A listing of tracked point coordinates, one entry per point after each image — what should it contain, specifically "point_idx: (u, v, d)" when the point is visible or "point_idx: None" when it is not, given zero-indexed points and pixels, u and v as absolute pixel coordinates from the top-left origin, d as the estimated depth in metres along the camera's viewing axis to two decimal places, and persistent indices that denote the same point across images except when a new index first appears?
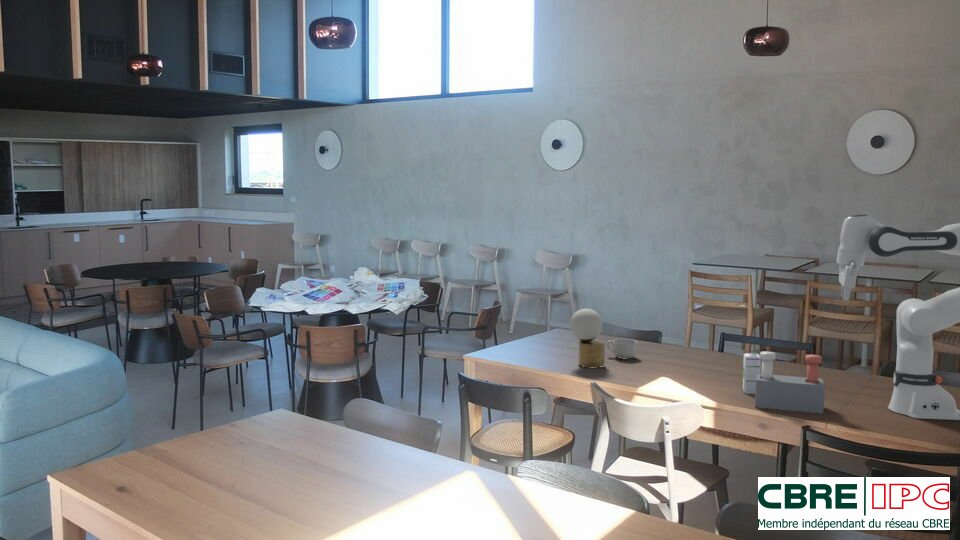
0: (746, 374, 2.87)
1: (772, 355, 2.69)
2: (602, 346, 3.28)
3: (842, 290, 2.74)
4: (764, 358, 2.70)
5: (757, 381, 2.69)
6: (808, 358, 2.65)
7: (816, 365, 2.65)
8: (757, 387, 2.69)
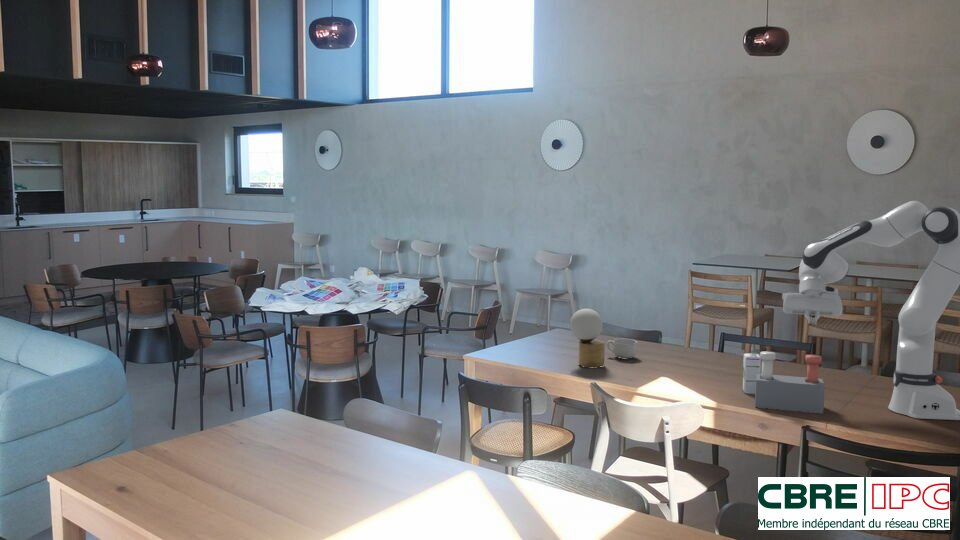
0: (746, 374, 2.87)
1: (772, 355, 2.69)
2: (602, 346, 3.28)
3: None
4: (764, 358, 2.70)
5: (757, 381, 2.69)
6: (808, 358, 2.65)
7: (816, 365, 2.65)
8: (757, 387, 2.69)
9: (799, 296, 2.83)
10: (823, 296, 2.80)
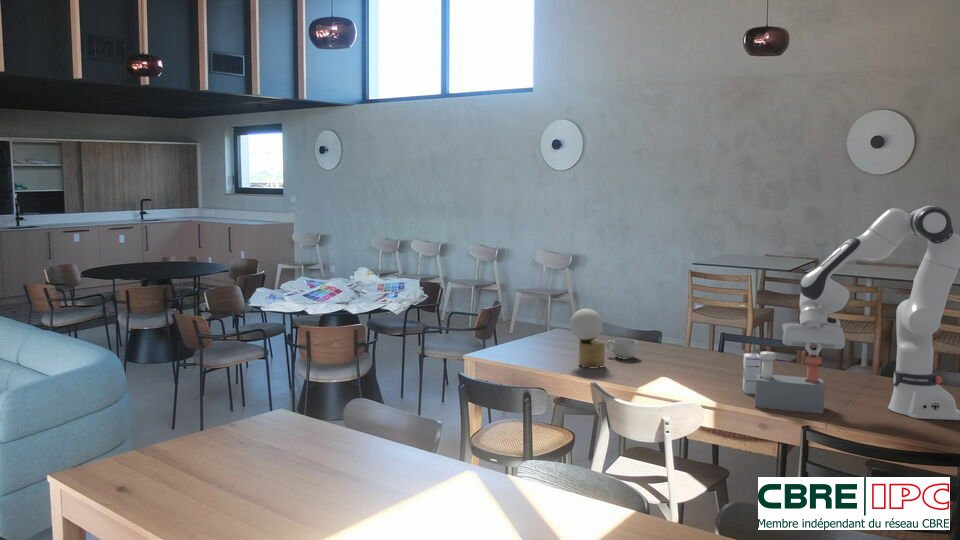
0: (746, 374, 2.87)
1: (772, 355, 2.69)
2: (602, 346, 3.28)
3: None
4: (764, 358, 2.70)
5: (757, 381, 2.69)
6: (808, 359, 2.65)
7: (816, 366, 2.65)
8: (757, 387, 2.69)
9: (800, 327, 2.72)
10: (825, 328, 2.69)
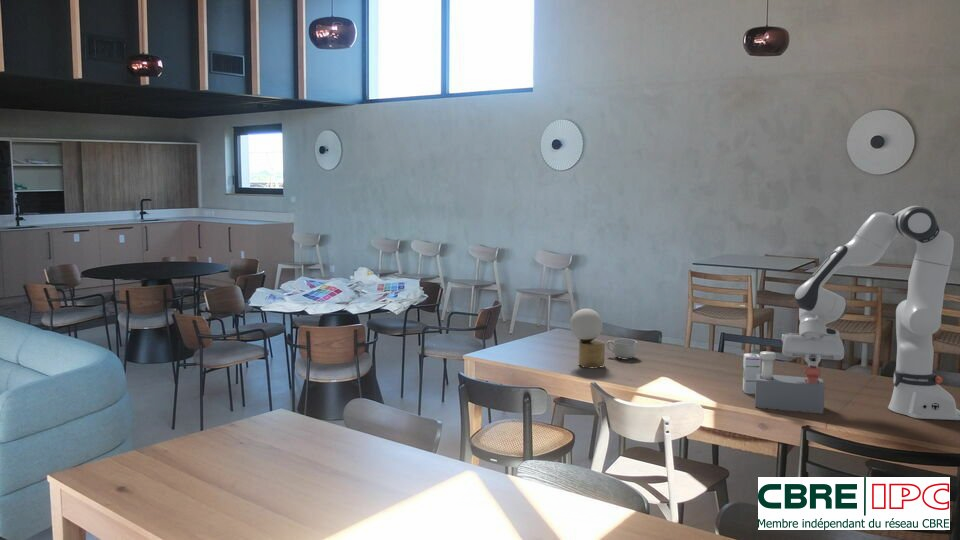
0: (746, 374, 2.87)
1: (772, 355, 2.69)
2: (602, 346, 3.28)
3: None
4: (764, 358, 2.70)
5: (757, 381, 2.69)
6: (807, 370, 2.66)
7: (815, 377, 2.66)
8: (757, 387, 2.69)
9: (799, 338, 2.73)
10: (824, 339, 2.70)
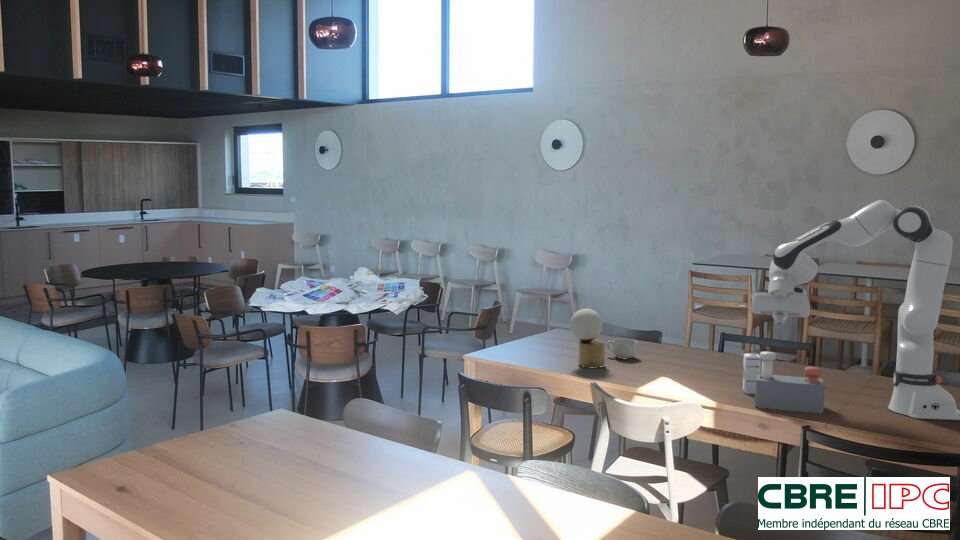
0: (746, 374, 2.87)
1: (772, 355, 2.69)
2: (602, 346, 3.28)
3: None
4: (764, 358, 2.70)
5: (757, 381, 2.69)
6: (807, 370, 2.66)
7: (815, 377, 2.66)
8: (757, 387, 2.69)
9: (768, 296, 2.83)
10: (792, 297, 2.80)
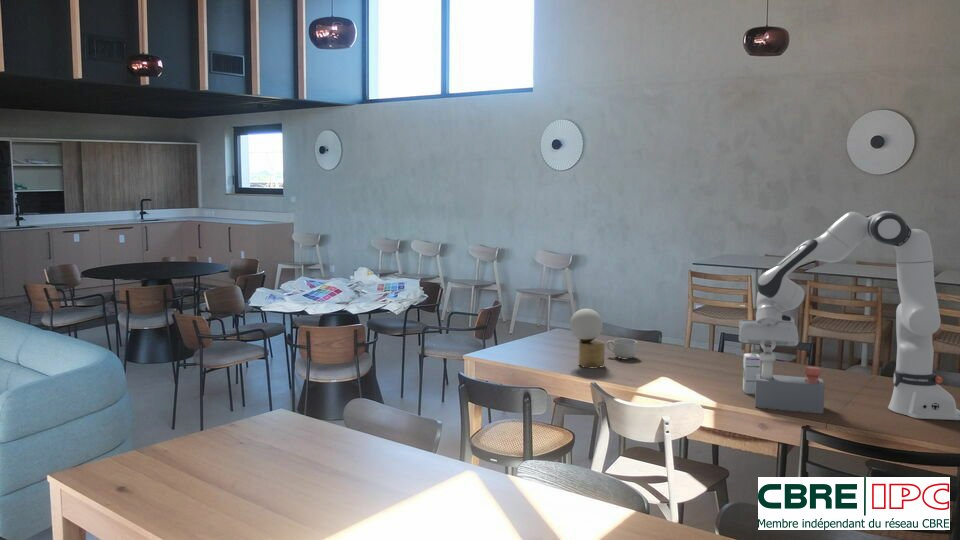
0: (746, 374, 2.87)
1: (772, 356, 2.69)
2: (602, 346, 3.28)
3: None
4: (764, 359, 2.70)
5: (757, 381, 2.69)
6: (807, 370, 2.66)
7: (815, 377, 2.66)
8: (757, 387, 2.69)
9: (755, 325, 2.77)
10: (779, 325, 2.74)
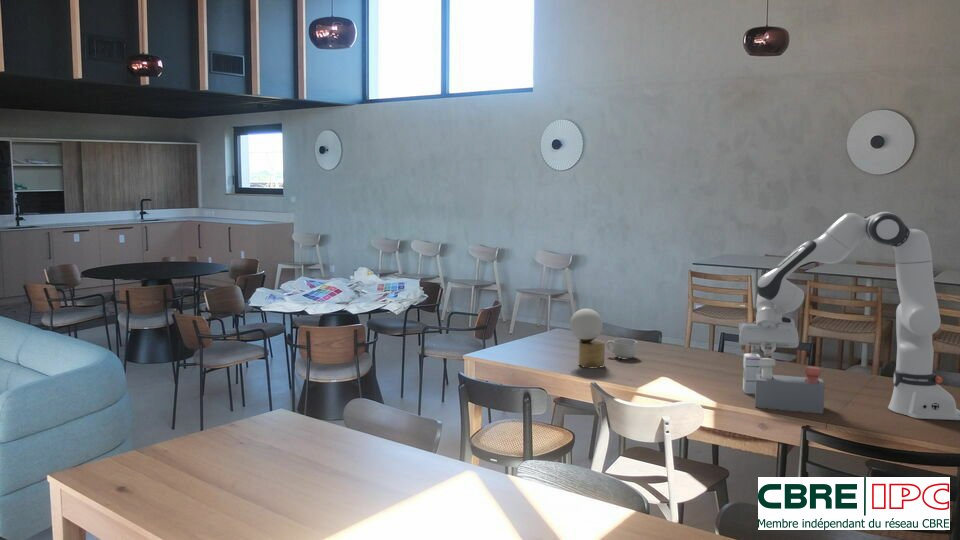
0: (746, 374, 2.87)
1: (772, 362, 2.69)
2: (602, 346, 3.28)
3: None
4: (764, 365, 2.70)
5: (757, 381, 2.69)
6: (807, 370, 2.66)
7: (815, 377, 2.66)
8: (757, 387, 2.69)
9: (755, 327, 2.77)
10: (780, 327, 2.74)
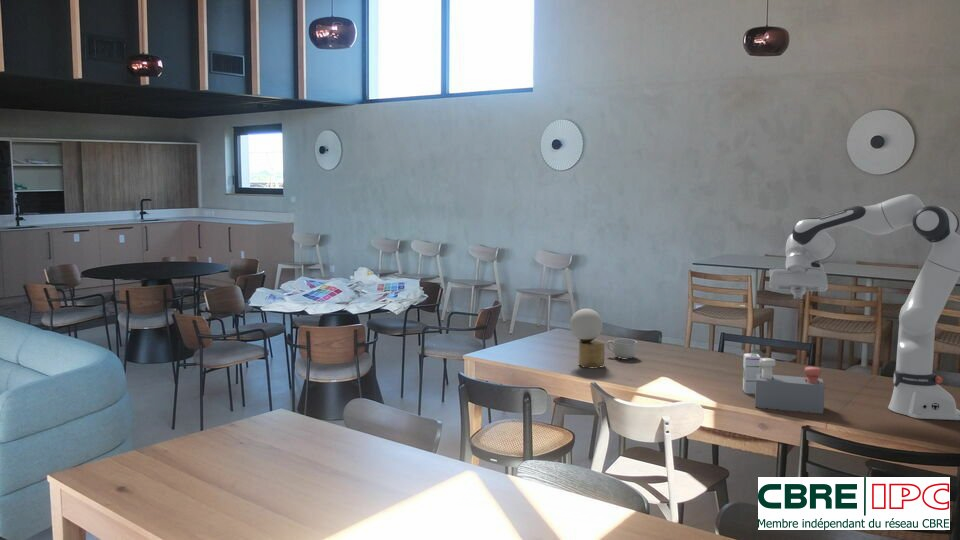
0: (746, 374, 2.87)
1: (772, 362, 2.69)
2: (602, 346, 3.28)
3: None
4: (764, 365, 2.70)
5: (757, 381, 2.69)
6: (807, 370, 2.66)
7: (815, 377, 2.66)
8: (757, 387, 2.69)
9: (785, 272, 2.86)
10: (809, 272, 2.83)
